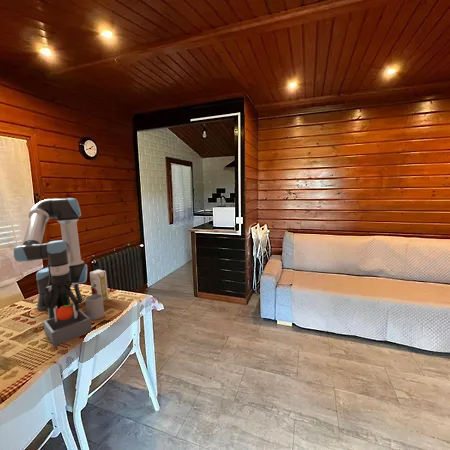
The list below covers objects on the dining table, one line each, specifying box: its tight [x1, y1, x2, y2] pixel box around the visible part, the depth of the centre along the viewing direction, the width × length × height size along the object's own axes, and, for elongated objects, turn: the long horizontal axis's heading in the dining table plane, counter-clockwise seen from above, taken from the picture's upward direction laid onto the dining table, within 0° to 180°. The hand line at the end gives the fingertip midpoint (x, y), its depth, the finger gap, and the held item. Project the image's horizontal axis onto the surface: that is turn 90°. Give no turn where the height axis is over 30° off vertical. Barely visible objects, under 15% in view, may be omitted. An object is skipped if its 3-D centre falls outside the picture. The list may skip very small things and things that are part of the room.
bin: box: [42, 308, 93, 347], centre depth 122 cm, size 16×16×6 cm
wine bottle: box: [47, 261, 72, 319], centre depth 132 cm, size 10×10×33 cm
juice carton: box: [89, 269, 109, 303], centre depth 157 cm, size 8×9×19 cm
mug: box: [84, 294, 105, 321], centre depth 139 cm, size 12×8×11 cm
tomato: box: [56, 304, 74, 320], centre depth 121 cm, size 8×7×7 cm
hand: (66, 318), depth 122 cm, fingers closed on tomato, 7 cm apart
